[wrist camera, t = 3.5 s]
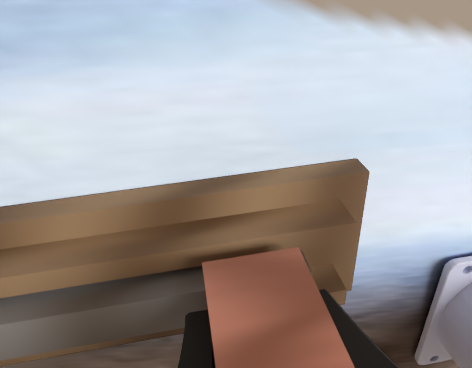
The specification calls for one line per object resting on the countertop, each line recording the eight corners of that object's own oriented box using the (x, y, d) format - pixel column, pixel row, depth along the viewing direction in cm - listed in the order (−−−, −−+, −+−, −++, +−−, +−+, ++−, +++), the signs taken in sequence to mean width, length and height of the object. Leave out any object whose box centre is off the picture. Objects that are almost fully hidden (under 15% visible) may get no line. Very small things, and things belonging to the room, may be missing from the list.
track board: (356, 158, 14) (389, 193, 12) (342, 273, 17) (365, 316, 15) (-44, 212, 12) (-84, 263, 10) (21, 328, 16) (1, 384, 14)
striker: (290, 148, 13) (420, 348, 6) (286, 305, 17) (362, 520, 11) (-199, 211, 11) (-689, 568, 5) (-68, 368, 15) (-231, 667, 9)
